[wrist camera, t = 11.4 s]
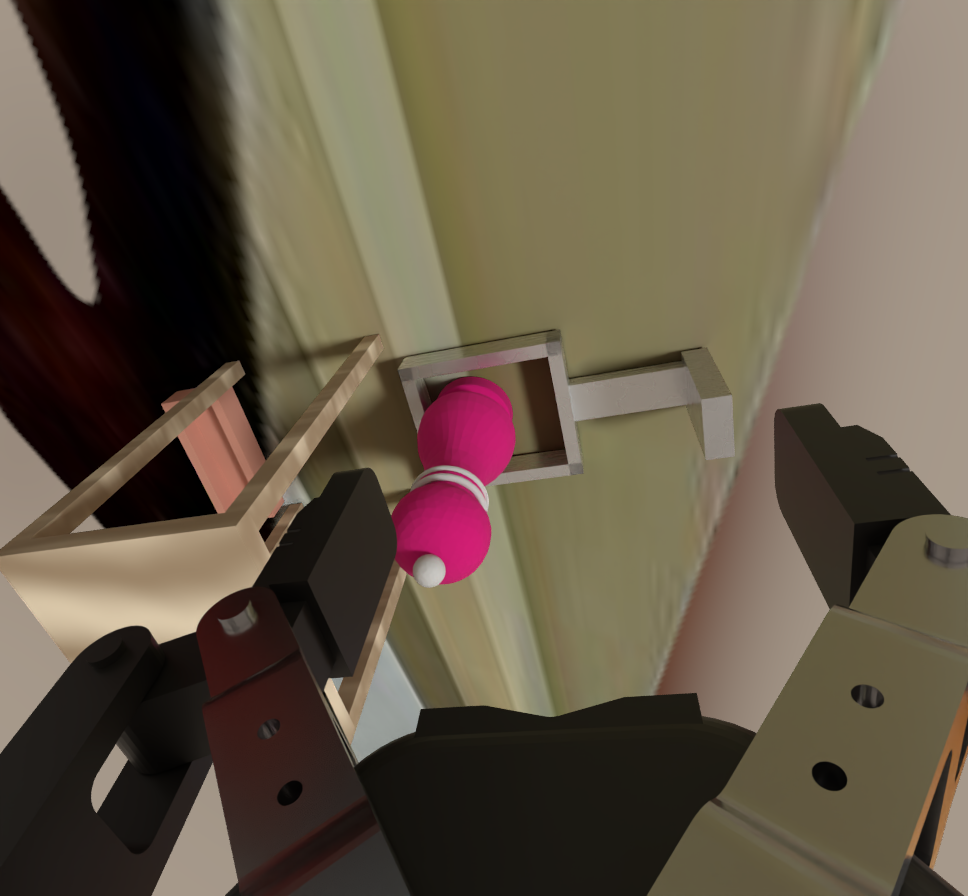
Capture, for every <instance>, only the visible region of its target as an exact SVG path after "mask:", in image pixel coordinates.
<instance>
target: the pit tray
mask: <svg viewBox="0 0 968 896" xmlns="http://www.w3.org/2000/svg"><path fill="white" fill-rule="evenodd" d="M194 389H195V388H193V389H188V390H182V391H177V392H176V393H174V394H173V395H172V396H171V397H169V398H168V399H167V400H166V401H164V402H163V403H162V404H161V405H162V407H163V409H164V411H165V413H166V412H167V411H169V410H170V409H171V408H172V407H173V406H175V405H176V404H177V403H178V402H179V401H181V400H182V399H183V398H184V397H185V396H187V395H188V394H189V393H190V392H192V391H193V390H194ZM178 438H179V440H180V442H181V443H182V445H183V447H184V449H185V451H186V453H187V455H188V457H189V459H190V461H191V463H192V465H193V467H194V468H195V470H196V472H197V474H198V476H199V478H200V480H201V482H202V484H203V486H204V488H205V490H206V491H207V493H208V495H209V497H210V499H211V501H212V503H213V505H214V507H215V509H216V511H217V513H218V514H220V513H225V512H226V510H227V509H228V508H229V506H230V505H231V504H232V503H233V501H234V500H235V499H236V498H237V496H238V495H239V494H240V493H241V491H242V490H243V489H244V488H245V486H246V485H247V484H248V483H249V481H250V480H251V479H252V478H253V476H254V475H255V474H256V473H257V471H258V470H259V469H260V467H261V466H262V465H263V464H264V462H265V461H266V460H265V458H264V456H263V454H262V451H261V449H260V447H259V445H258V443H257V440H256V438H255V436H254V434H253V432H252V429H251V427H250V425H249V423H248V421H247V418H246V416H245V414H244V412H243V410H242V407H241V405H240V403H239V401H238V399H237V396H236V394H235V392H234V390H233V388H232V387H231V388H229V389H228V390H227V391H226V392H225V393H224V394H223V395H222V396H221V397H220V398H218V399H217V400H216V401H215V402H214V403H213V404H212V405H211V406H210V407H209V408H207V409H206V410H205V411H204V412H203V413H202V414H201V415H200V416H199V417H198V418H196V419H195V420H194V421H193V422H192V423H191V424H190V425H189V426H188V427H187V428H185V429H184V430H183V431H182V432H181V433H180V434H179V435H178ZM283 503H284V500H283V498H282V497H281V499H280V500H279V502H278V503H277V505H276V506H275V508H274V509H273V510H272V512H271V513H270V515H269V516H268V518H271V517H274V516H275V515H276V513H277V512H278V510H279V509H280V507H281V506H282V504H283Z"/></svg>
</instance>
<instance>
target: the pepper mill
mask: <svg viewBox="0 0 968 896" xmlns="http://www.w3.org/2000/svg"><path fill="white" fill-rule="evenodd" d="M512 417H513V410H512V405H511V402H510V400H509V398H508V396H507V395H506V393H505V392H504V391H503V390H502V389H501V388H500V387H499V386H498V385H496V384H495V383H493V382H491V381H489V380H487V379H484V378H479V377H463V378H459V379H457V380H454V381H452V382H450V383H449V384H448V385H446V386H445V387H444V388H443V390H442V391H441V392H440V394H439V396H438V397H437V400H436V401H434V402H433V403H432V404H431V405H430V406H429V407H428V409H427V410H426V411H425V413H424V415H423V417H422V419H421V422H420V426H419V430H418V436H417V443H418V453H419V457H420V460H421V462H422V465H423V467H424V470H425V471H424V472H423V473H421V474H420V475H419V476H418V477H417V478H416V479H415V481H414V482H413V484H412V487H411V490H410V492H409V493H408V494H407V495H405V496H404V497H403V498H402V499H401V500H400V501H399V503H398V504H397V506H396V507H395V509H394V511H393V513H392V515H391V518H392V520H393V523H394V526H395V530H396V535H397V552H396V556H395V561H396V562H397V563H398V564H399V566H400V567H401V568H402V569H403V570H404V571H405V572H406V573H408V574H409V575H411V576H413V577H414V578H415V580H416V581H417V583H418V584H420V585H421V586H423V587H434V586H437V585H438V584H450V583H454V582H457V581H460V580H462V579H464V578H466V577H468V576H469V575H470V574H472V573H473V572H474V571H475V570H476V569H477V568H478V567H479V565H480V564H481V563H482V562H483V560H484V558H485V556H486V554H487V552H488V549H489V545H490V539H491V525H490V521H489V517H488V515H487V510H488V505H489V498H488V493H487V491H486V489H485V486H486V485H488V484H489V483H491V482H492V481H494V480H495V479H496V478H497V477H498V476H499V475H500V474H501V473H502V472H503V471H504V469H505V468H506V466H507V465H508V463H509V461H510V459H511V457H512V454H513V451H514V446H515V429H514V426H513V423H512Z"/></svg>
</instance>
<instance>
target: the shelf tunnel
mask: <svg viewBox="0 0 968 896" xmlns="http://www.w3.org/2000/svg"><path fill="white" fill-rule="evenodd" d="M383 349H384V348H383V345H382V341H381V338H380V335H379V334H376V335H371V336H366V337H364V338H363V339H362V340H361V342H360V343H359V344H358V345H357V347H356V348H355V349H354V350H353V352H352V353H351V354H350V356H349V357H348V358H347V359H346V361H345V362H344V363H343V364H342V366H341V367H340V368H339V369H338V371H337V372H336V373H335V374H334V376H333V377H332V378H331V379H330V381H329V382H328V383H327V384H326V386H325V387H324V388H323V389H322V391H321V392H320V393H319V395H318V396H317V397H316V398H315V400H314V401H313V402H312V403H311V405H310V406H309V407H308V408H307V410H306V411H305V412H304V413H303V415H302V416H301V417H300V418H299V420H298V421H297V422H296V423H295V425H294V426H293V427H292V428H291V430H290V431H289V432H288V434H287V435H286V436H285V437H284V439H283V440H282V441H281V442H280V444H279V445H278V446H277V447H276V449H275V450H274V451H273V452H272V454H271V455H270V456H269V457H268V459H267V460H266V461H265V462H264V464H263V465H262V466H261V467H260V469H259V470H258V471H257V473H256V474H255V475H254V476H253V478H252V479H251V480H250V481H249V483H248V484H247V485H246V486H245V488H244V489H243V490H242V491H241V493H240V494H239V495H238V496H237V498H236V499H235V500H234V501H233V503H232V504H231V505H230V506H229V508H228V509H227V510H226V512H225V513H220V514H212V515H205V516H197V517H190V518H183V519H175V520H168V521H160V522H153V523H145V524H138V525H130V526H123V527H115V528H108V529H101V530H93V531H86V532H79V533H71V532H72V531H73V530H74V529H75V528H76V527H78V526H79V525H80V524H81V523H82V522H83V521H84V520H85V519H86V518H87V517H89V516H90V515H91V514H92V513H93V512H94V511H95V510H96V509H97V508H99V507H100V506H101V505H102V504H103V503H104V502H105V501H106V500H107V499H108V498H110V497H111V496H112V495H113V494H114V493H115V492H116V491H117V490H118V489H119V488H121V487H122V486H123V485H124V484H125V483H126V482H127V481H128V480H129V479H130V478H132V477H133V476H134V475H135V474H136V473H137V472H138V471H139V470H140V469H141V468H143V467H144V466H145V465H146V464H147V463H148V462H149V461H150V460H151V459H152V458H154V457H155V456H156V455H157V454H158V453H159V452H160V451H161V450H162V449H163V448H165V447H166V446H167V445H168V444H169V443H170V442H171V441H172V440H173V439H174V438H176V437H177V436H178V435H179V434H180V433H181V432H182V431H183V430H184V429H185V428H187V427H188V426H189V425H190V424H191V423H192V422H193V421H194V420H195V419H196V418H198V417H199V416H200V415H201V414H202V413H203V412H204V411H205V410H206V409H207V408H209V407H210V406H211V405H212V404H213V403H214V402H215V401H216V400H217V399H218V398H220V397H221V396H222V395H223V394H224V393H225V392H226V391H227V390H228V389H229V388H231V387H232V386H233V385H234V384H235V383H236V382H237V381H238V380H239V379H240V378H242V377H243V376H244V375H245V372H244V370H243V368H242V366H241V363H240V361H234V362H229V363H225V364H224V365H223V366H222V367H221V368H219V369H218V370H217V371H216V372H215V373H213V374H212V375H211V376H210V377H209V378H207V379H206V380H205V381H204V382H202V383H201V384H200V385H199V386H198V387H196V388H195V389H194V390H193V391H192V392H190V393H189V394H188V395H187V396H185V397H184V398H183V399H182V400H181V401H179V402H178V403H177V404H176V405H175V406H173V407H172V408H171V409H170V410H169V411H167V412H166V413H165V414H164V415H162V416H161V417H160V418H159V419H158V420H156V421H155V422H154V423H153V424H152V425H150V426H149V427H148V428H147V429H145V430H144V431H143V432H142V433H141V434H139V435H138V436H137V437H136V438H135V439H133V440H132V441H131V442H130V443H128V444H127V445H126V446H125V447H124V448H122V449H121V450H120V451H119V452H118V453H116V454H115V455H114V456H113V457H112V458H110V459H109V460H108V461H107V462H105V463H104V464H103V465H102V466H101V467H99V468H98V469H97V470H96V471H95V472H93V473H92V474H91V475H90V476H88V477H87V478H86V479H85V480H84V481H82V482H81V483H80V484H79V485H78V486H76V487H75V488H74V489H73V490H72V491H70V492H69V493H68V494H67V495H65V496H64V497H63V498H62V499H61V500H59V501H58V502H57V503H56V504H55V505H53V506H52V507H51V508H50V509H49V510H47V511H46V512H45V513H44V514H42V515H41V516H40V517H39V518H38V519H36V520H35V521H34V522H33V523H32V524H30V525H29V526H28V527H27V528H26V529H24V530H23V531H22V532H21V533H20V534H18V535H17V536H16V537H15V538H13V539H12V540H11V541H10V542H9V543H8V544H6V545H5V546H4V547H2V548H1V549H0V571H1V572H2V574H3V575H4V576H5V578H6V579H7V580H8V581H9V583H10V584H11V586H12V587H13V588H14V589H15V591H16V592H17V593H18V595H19V596H20V597H21V599H22V600H23V601H24V603H25V604H26V605H27V607H28V608H29V609H30V611H31V612H32V613H33V614H34V616H35V617H36V618H37V620H38V621H39V622H40V624H41V625H42V626H43V628H44V629H45V630H46V632H47V633H48V634H49V635H50V637H51V638H52V639H53V641H54V642H55V643H56V645H57V646H58V647H59V649H60V650H61V651H62V653H63V654H64V655H65V656H66V658H67V659H68V660H69V662H70V663H72V662H73V661H74V659H75V658H76V657H77V656H78V655H79V654H80V653H81V652H82V651H83V650H84V649H85V648H87V647H88V646H89V645H90V644H92V643H93V642H95V641H96V640H98V639H99V638H101V637H103V636H104V635H106V634H108V633H110V632H113V631H115V630H117V629H120V628H124V627H128V626H136V625H137V626H143V627H146V628H147V629H149V631H150V632H151V634H152V635H153V637H154V638H155V640H156V641H157V643H158V644H161V643H164V642H167V641H170V640H173V639H176V638H179V637H182V636H185V635H188V634H191V633H194V632H196V629H197V626H198V623H199V621H200V620H201V618H202V617H203V615H204V614H205V613H206V612H207V611H208V610H209V609H210V608H211V607H212V606H213V605H214V604H216V603H217V602H218V601H220V600H221V599H223V598H224V597H226V596H228V595H230V594H232V593H234V592H236V591H239V590H242V589H245V588H249V587H252V586H253V584H254V583H255V581H256V579H257V578H258V576H259V575H260V573H261V571H262V570H263V568H264V566H265V565H266V563H267V562H268V560H269V558H270V557H271V555H272V553H273V552H274V550H275V549H276V547H278V546H279V542H280V540H281V539H282V537H283V536H284V534H285V533H287V529H288V528H289V526H290V524H291V523H292V521H293V519H294V518H295V516H296V515H297V513H298V512H299V511H301V510H302V509H303V508H304V507H303V504H302V503H298V504H290V505H289V507H288V508H287V510H286V511H285V513H284V514H283V516H282V517H281V519H280V520H279V522H278V524H277V525H276V527H275V528H274V530H273V531H272V533H271V534H270V536H269V537H268V539H267V540H266V542H265V543H264V541H263V539H262V537H261V535H260V533H259V529H260V528H261V526H262V525H263V524H264V522H265V521H266V519H267V518H268V516H269V515H270V513H271V512H272V510H273V509H274V508H275V506H276V505H277V503H278V502H279V500H280V499H281V497H282V496H283V494H284V493H285V492H286V490H287V489H288V487H289V486H290V484H291V483H292V481H293V480H294V478H295V477H296V476H297V474H298V473H299V471H300V470H301V468H302V467H303V465H304V464H305V462H306V461H307V460H308V458H309V457H310V455H311V454H312V452H313V451H314V449H315V448H316V446H317V445H318V444H319V442H320V441H321V439H322V438H323V436H324V435H325V433H326V432H327V430H328V429H329V428H330V426H331V425H332V423H333V422H334V420H335V419H336V417H337V416H338V414H339V413H340V412H341V410H342V409H343V407H344V406H345V404H346V403H347V401H348V400H349V398H350V397H351V396H352V394H353V393H354V391H355V390H356V388H357V387H358V385H359V384H360V382H361V381H362V380H363V378H364V377H365V375H366V374H367V372H368V371H369V369H370V368H371V366H372V365H373V364H374V362H375V361H376V359H377V358H378V356H379V355H380V353H381V352H382V350H383ZM70 533H71V534H70ZM406 574H407V573H406V572H405V571H404V570H403V569H402V568H401V567H400V566H399V564H398V563H397V562H396V561H395V559H394V562H393V564H392V567H391V570H390V573H389V576H388V578H387V581H386V584H385V587H384V590H383V593H382V595H381V598H380V601H379V604H378V607H377V609H376V612H375V615H374V618H373V621H372V623H371V626H370V629H369V632H368V635H367V638H366V640H365V643H364V646H363V649H362V652H361V654H360V657H359V660H358V663H357V666H356V668H355V671H354V674H353V677H344V678H343V680H342V683H341V686H340V688H339V691H338V692H337V690H336V688H335V686H334V684H333V682H332V680H331V678H328V681H327V683H326V686H325V689H324V691H325V693H326V695H327V697H328V699H329V701H330V703H331V705H332V707H333V709H334V711H335V714H336V716H337V718H338V720H339V722H340V724H341V726H342V728H343V731H344V733H345V735H346V737H347V739H348V741H349V743H350V745H351V743H352V740H353V737H354V734H355V730H356V727H357V724H358V721H359V718H360V715H361V712H362V709H363V706H364V703H365V700H366V697H367V694H368V691H369V688H370V684H371V681H372V678H373V675H374V672H375V669H376V666H377V663H378V660H379V657H380V654H381V651H382V648H383V645H384V642H385V639H386V635H387V632H388V629H389V626H390V623H391V620H392V617H393V614H394V611H395V608H396V605H397V602H398V599H399V596H400V593H401V589H402V586H403V583H404V580H405V577H406Z"/></svg>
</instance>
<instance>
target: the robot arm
mask: <svg viewBox="0 0 968 896" xmlns="http://www.w3.org/2000/svg"><path fill="white" fill-rule="evenodd" d="M774 443H775V445H774V449H775V488H776V494H777V499H778V503H779V506H780V509H781V512H782V514H783V516H784V518H785V520H786V522H787V524H788V526H789V528H790V530H791V532H792V534H793V536H794V538H795V540H796V542H797V544H798V546H799V548H800V550H801V552H802V554H803V556H804V558H805V560H806V562H807V564H808V566H809V568H810V570H811V572H812V574H813V576H814V578H815V580H816V582H817V584H818V586H819V588H820V590H821V592H822V594H823V596H824V598H825V600H826V602H827V604H828V606H829V608H830V610H829V612H828V613H827V615H826V617H825V618H824V620H823V622H822V623H821V625H820V627H819V628H818V630H817V632H816V634H815V635H814V637H813V639H812V640H811V642H810V644H809V645H808V647H807V649H806V650H805V652H804V654H803V656H802V657H801V659H800V661H799V662H798V664H797V666H796V668H795V669H794V671H793V673H792V674H791V676H790V678H789V679H788V681H787V683H786V684H785V686H784V688H783V690H782V691H781V693H780V695H779V696H778V698H777V700H776V701H775V703H774V705H773V707H772V708H771V710H770V712H769V713H768V715H767V717H766V718H765V720H764V722H763V724H762V725H761V727H760V729H759V730H758V732H757V733H755V732H753V731H751V730H748V729H745V728H743V727H740V726H738V725H736V724H733V723H729V722H726V721H722V720H719V719H715V718H710V717H704V716H701V711H700V706H699V702H698V698H697V693H690V694H672V695H654V696H637V697H623V698H620V699H616V700H613V701H609V702H606V703H602V704H599V705H595V706H592V707H588V708H585V709H581V710H578V711H574V712H571V713H567V714H564V715H561V716H556V717H544V716H539V715H533V714H528V713H522V712H517V711H511V710H506V709H501V708H495V707H490V706H467V707H450V708H433V709H421V711H420V715H419V719H418V724H417V728H416V732H414V733H411V734H408V735H405V736H403V737H401V738H398V739H396V740H393V741H392V742H390V743H388V744H386V745H384V746H382V747H380V748H379V749H377V750H376V751H374V752H373V753H371V754H370V755H368V756H367V757H366V758H364V759H363V760H362V761H361V762H358V760H357V758H356V756H355V754H354V752H353V750H352V748H351V745H350V743H349V741H348V739H347V737H346V735H345V733H344V731H343V728H342V726H341V724H340V722H339V720H338V718H337V716H336V714H335V711H334V709H333V707H332V705H331V703H330V701H329V699H328V697H327V695H326V693H325V691H324V689H325V686H326V683H327V681H328V678H341V677H353V674H354V671H355V668H356V666H357V663H358V660H359V657H360V654H361V652H362V649H363V646H364V643H365V640H366V638H367V635H368V632H369V629H370V626H371V623H372V621H373V618H374V615H375V612H376V609H377V607H378V604H379V601H380V598H381V595H382V593H383V590H384V587H385V584H386V581H387V578H388V576H389V573H390V570H391V567H392V564H393V562H394V559H395V556H396V552H397V535H396V530H395V526H394V523H393V520H392V518H391V515H390V512H389V509H388V507H387V504H386V501H385V498H384V496H383V493H382V490H381V487H380V485H379V482H378V479H377V477H376V475H375V473H374V471H373V470H372V469H370V468H362V469H356V470H349V471H342V472H336V473H334V474H333V475H332V477H331V479H330V480H329V482H328V484H327V486H326V487H325V489H324V491H323V492H322V494H321V496H320V497H319V498H314V499H313V500H312V501H311V502H310V503H309V504H307V505H306V506H305V507H304V508H303V509H302V510H301V511H299V512H298V513H297V515H296V516H295V518H294V519H293V521H292V523H291V524H290V526H289V528H288V529H287V533H285V534H284V536H283V537H282V539H281V540H280V542H279V546H278V547H276V549H275V550H274V552H273V553H272V555H271V557H270V558H269V560H268V562H267V563H266V565H265V566H264V568H263V570H262V571H261V573H260V575H259V576H258V578H257V579H256V581H255V583H254V584H253V586H252V587H249V588H245V589H242V590H239V591H236V592H234V593H232V594H230V595H228V596H226V597H224V598H223V599H221V600H220V601H218V602H217V603H216V604H214V605H213V606H212V607H211V608H210V609H209V610H208V611H207V612H206V613H205V614H204V615H203V617H202V618H201V620H200V621H199V623H198V626H197V629H196V632H194V633H191V634H188V635H185V636H182V637H179V638H176V639H173V640H170V641H167V642H164V643H161V644H158V643H157V641H156V640H155V638H154V637H153V635H152V634H151V632H150V631H149V629H147V628H146V627H143V626H137V625H136V626H128V627H124V628H120V629H117V630H115V631H113V632H110V633H108V634H106V635H104V636H103V637H101V638H99V639H98V640H96V641H95V642H93V643H92V644H90V645H89V646H88V647H87V648H85V649H84V650H83V651H82V652H81V653H80V654H79V655H78V656H77V657H76V658H75V659H74V661H73V662H72V663H71V664H70V666H69V667H68V668H67V670H66V671H65V672H64V673H63V675H62V676H61V677H60V678H59V680H58V681H57V682H56V683H55V685H54V686H53V687H52V689H51V690H50V691H49V692H48V694H47V695H46V696H45V698H44V699H43V700H42V701H41V703H40V704H39V705H38V706H37V708H36V709H35V710H34V711H33V713H32V714H31V715H30V717H29V718H28V719H27V721H26V722H25V723H24V724H23V726H22V727H21V728H20V729H19V731H18V732H17V733H16V734H15V736H14V737H13V738H12V740H11V741H10V742H9V743H8V745H7V746H6V747H5V748H4V750H3V751H2V752H1V754H0V896H151V895H152V893H153V891H154V889H155V887H156V885H157V882H158V880H159V878H160V876H161V874H162V871H163V869H164V867H165V865H166V863H167V860H168V858H169V856H170V854H171V852H172V850H173V847H174V845H175V843H176V841H177V839H178V837H179V834H180V832H181V830H182V828H183V826H184V824H185V821H186V819H187V817H188V815H189V813H190V810H191V808H192V806H193V804H194V802H195V799H196V797H197V795H198V793H199V791H200V789H201V786H202V784H203V782H204V780H205V778H206V775H207V773H208V771H209V769H210V767H211V765H212V763H213V765H214V769H215V774H216V779H217V783H218V788H219V793H220V798H221V802H222V807H223V812H224V817H225V821H226V825H227V831H228V836H229V840H230V845H231V850H232V854H233V859H234V863H235V868H236V873H237V878H238V883H237V884H236V885H235V886H234V887H233V888H232V889H231V890H230V891H229V892H228V893H227V894H226V895H225V896H964V895H963V894H961V893H960V892H959V891H958V890H956V889H955V888H954V887H953V886H951V885H950V884H949V883H948V882H947V881H946V880H944V879H943V878H942V877H941V876H939V875H938V874H937V873H936V872H935V871H933V868H934V865H935V862H936V858H937V855H938V851H939V848H940V845H941V841H942V837H943V834H944V830H945V826H946V822H947V818H948V814H949V811H950V808H951V804H952V801H953V798H954V795H955V792H956V788H957V785H958V782H959V779H960V776H961V773H962V770H963V767H964V764H965V761H966V758H967V755H968V518H964V517H959V516H953V515H950V513H949V512H948V511H947V510H946V509H945V508H944V507H943V505H942V504H941V503H940V502H939V501H938V500H937V499H936V497H935V496H934V495H933V494H932V493H931V492H930V491H929V490H928V488H927V487H926V486H925V485H924V484H923V483H922V482H921V481H920V479H919V478H918V477H917V476H916V475H915V474H914V473H913V472H912V471H911V472H910V470H909V467H908V466H907V465H906V463H905V462H904V461H903V460H902V459H901V458H898V457H897V453H896V452H895V451H894V450H893V449H892V448H891V447H890V445H889V444H888V443H887V442H886V441H885V440H884V439H883V438H882V437H880V436H878V435H876V434H874V433H872V432H870V431H868V430H866V429H864V428H862V427H860V426H858V425H854V426H847V427H840V426H839V424H838V423H837V422H836V420H835V419H834V418H833V417H832V415H831V414H830V413H829V412H828V410H827V409H826V408H825V407H824V405H822V404H820V403H819V404H811V405H805V406H798V407H791V408H784V409H778V410H777V411H776V413H775V418H774ZM115 744H117V746H118V747H119V748H120V749H121V751H122V752H123V753H124V755H125V756H126V757H127V758H128V761H127V763H126V764H125V766H124V768H123V769H122V771H121V773H120V775H119V776H118V778H117V780H116V781H115V783H114V785H113V786H112V788H111V790H110V792H109V793H108V795H107V797H106V798H105V800H104V802H103V803H102V806H101V807H100V809H99V810H98V812H97V813H96V812H95V811H94V809H93V806H92V803H91V790H92V786H93V782H94V779H95V777H96V775H97V773H98V772H99V770H100V768H101V767H102V765H103V764H104V762H105V760H106V759H107V757H108V756H109V754H110V752H111V751H112V749H113V748H114V746H115Z"/></svg>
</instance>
